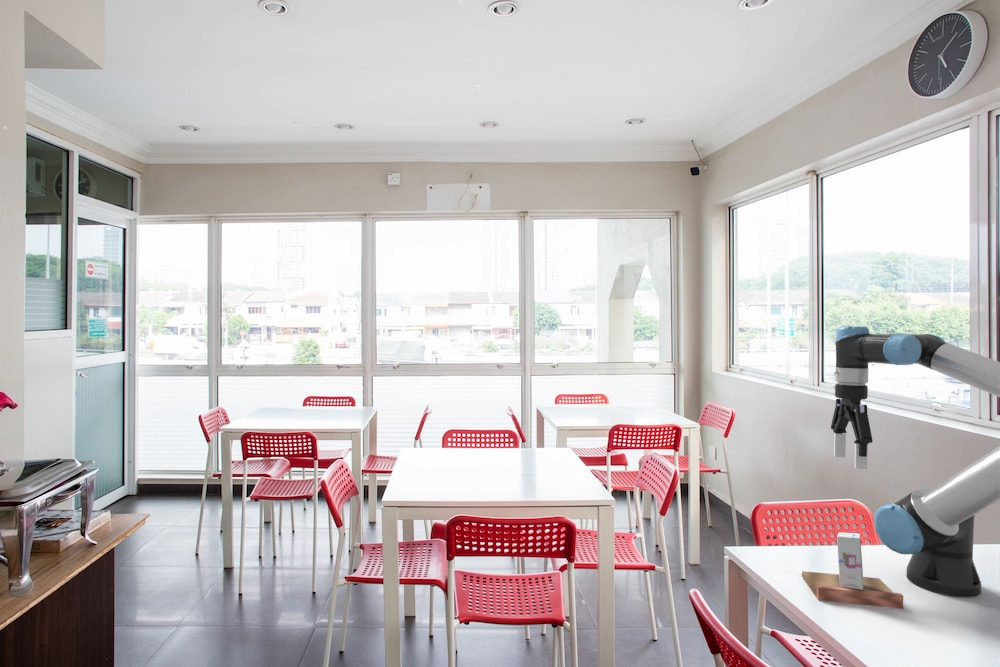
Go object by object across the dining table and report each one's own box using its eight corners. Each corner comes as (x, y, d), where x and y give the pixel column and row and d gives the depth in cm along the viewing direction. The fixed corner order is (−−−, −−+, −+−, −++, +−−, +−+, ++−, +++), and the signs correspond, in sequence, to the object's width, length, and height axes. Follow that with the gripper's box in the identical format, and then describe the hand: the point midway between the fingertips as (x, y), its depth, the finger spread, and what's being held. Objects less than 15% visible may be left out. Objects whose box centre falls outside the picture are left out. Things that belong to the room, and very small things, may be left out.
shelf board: (879, 584, 148) (879, 572, 148) (903, 608, 135) (903, 595, 135) (801, 576, 152) (802, 565, 152) (818, 600, 139) (818, 587, 139)
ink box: (840, 579, 147) (838, 530, 149) (863, 583, 145) (861, 533, 146) (838, 586, 140) (836, 535, 142) (863, 590, 137) (861, 538, 139)
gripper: (819, 379, 170) (817, 452, 170) (856, 388, 146) (854, 473, 146) (847, 379, 169) (845, 453, 169) (889, 388, 144) (887, 474, 145)
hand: (849, 462), depth 158 cm, fingers open, 13 cm apart
